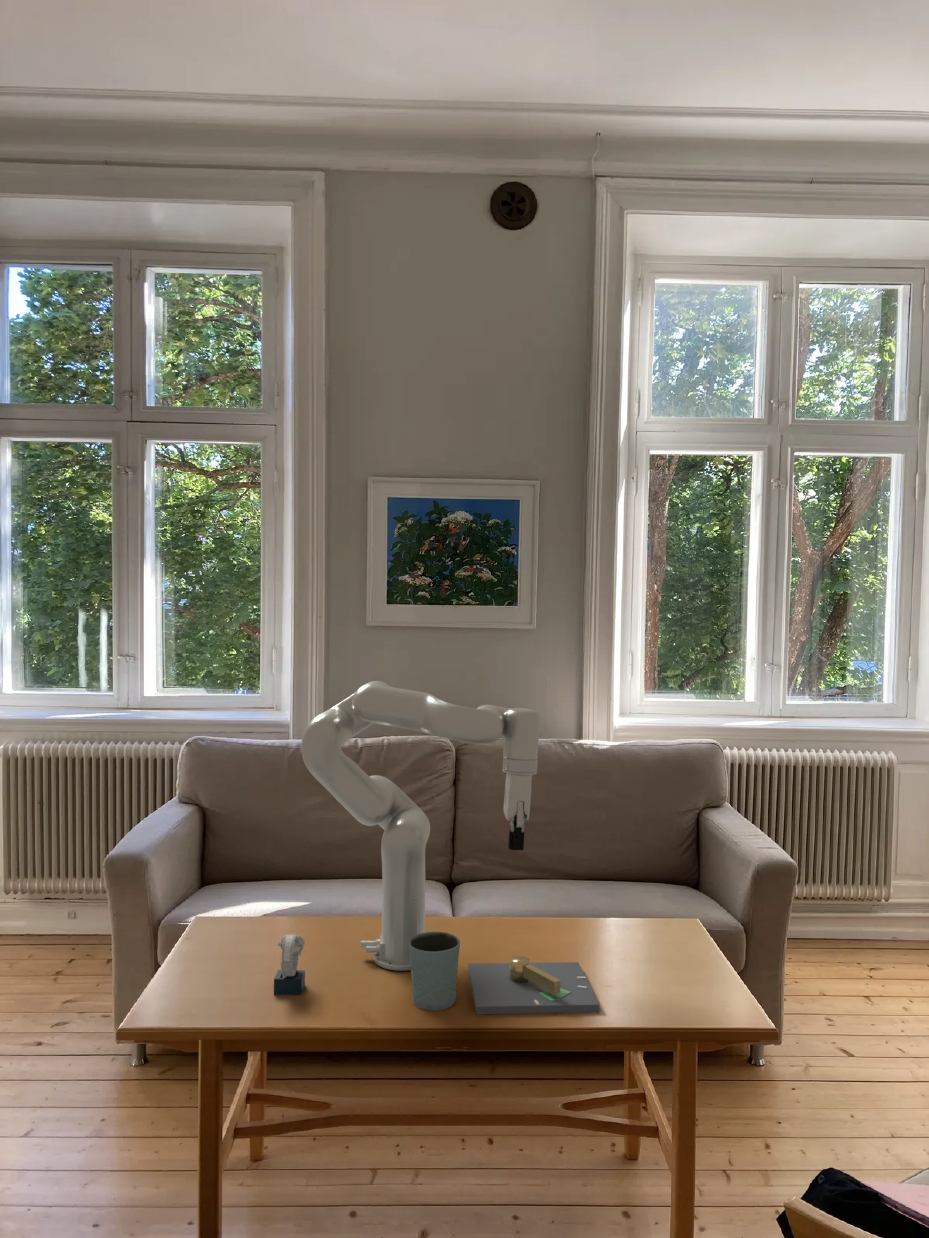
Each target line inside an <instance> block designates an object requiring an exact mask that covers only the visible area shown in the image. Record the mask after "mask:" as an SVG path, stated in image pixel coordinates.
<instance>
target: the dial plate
mask: <svg viewBox="0 0 929 1238" xmlns="http://www.w3.org/2000/svg"><path fill="white" fill-rule="evenodd" d="M529 964H531V965H532V966H534V967H536V968H538V969H540V970H542V971H544V972H546V973H548V974H550V975H551V976H553V977H555V978H557V979H559V980H561V981H560V993H557V994H553V993H551V992H549V991H547V990H545V989H543V988H542V987H540V986H538V985H536V984H534V983H533V982H531V981H529V980H528V981H526V982H515V981H512V980H511V979H510V962H497V963H496V962H495V963H493V962H492V963H491V962H490V963H489V962H488V963H487V962H486V963H485V962H484V963H479V962H478V963H468V964H467V972H468V977H469V982H470V989H471V994H472V1000H473V1005H474V1011H475V1015H510V1014H511V1015H512V1014H513V1015H515V1014H516V1015H517V1014H519V1015H521V1014H525V1015H526V1014H569V1013H570V1014H574V1013H575V1014H577V1013H578V1014H579V1013H581V1014H582V1013H600V1003H599V1002H598V1000H597V998H596V996H595V993H594V991H593V989H592V987H591V985H590V983H589V982H588V981H589V980H588V979H587V976H586V975H585V972H584V971H583V969H582V967H581V965H580V963H579V962H578V961H577V962H575V961H574V962H573V961H567V962H566V961H565V962H562V961H561V962H560V961H559V962H557V961H556V962H529Z"/></svg>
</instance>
